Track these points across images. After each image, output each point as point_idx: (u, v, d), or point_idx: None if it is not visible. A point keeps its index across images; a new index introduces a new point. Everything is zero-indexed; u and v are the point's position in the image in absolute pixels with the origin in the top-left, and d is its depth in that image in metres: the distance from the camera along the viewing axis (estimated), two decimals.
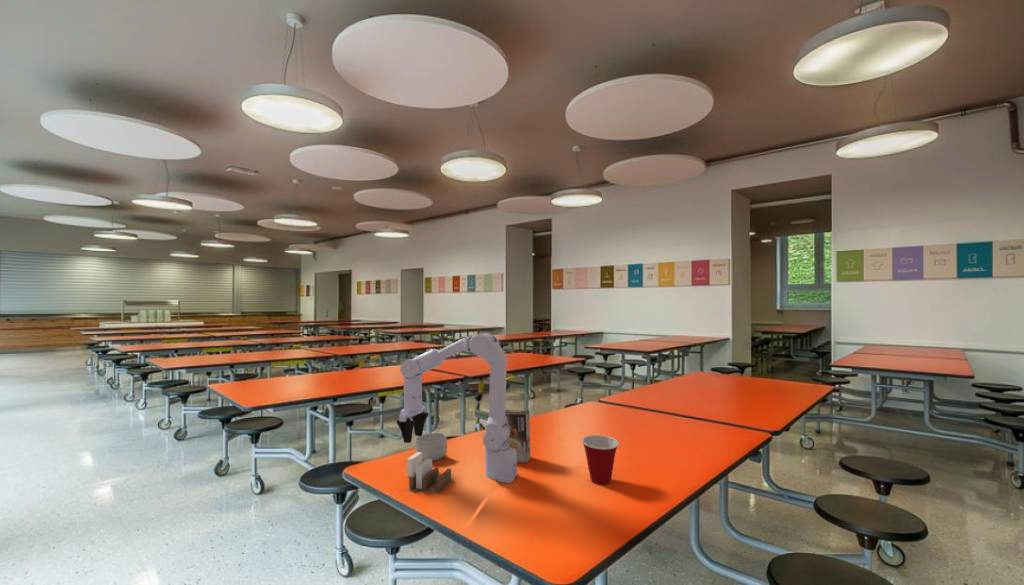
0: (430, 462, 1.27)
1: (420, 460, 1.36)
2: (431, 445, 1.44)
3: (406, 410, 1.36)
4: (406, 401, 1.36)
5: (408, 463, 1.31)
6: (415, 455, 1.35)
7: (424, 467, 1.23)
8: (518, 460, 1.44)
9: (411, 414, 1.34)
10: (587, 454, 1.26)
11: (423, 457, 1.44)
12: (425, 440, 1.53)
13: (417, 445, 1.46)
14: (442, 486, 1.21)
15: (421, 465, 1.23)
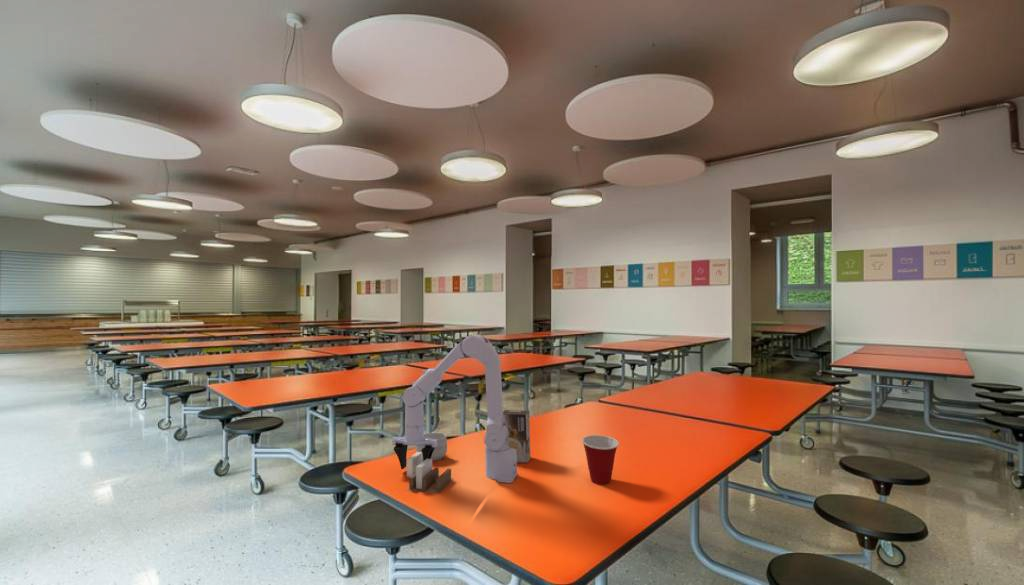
0: (430, 462, 1.27)
1: (420, 460, 1.36)
2: None
3: None
4: None
5: (408, 463, 1.31)
6: (415, 455, 1.35)
7: (424, 467, 1.23)
8: (518, 460, 1.44)
9: (399, 440, 1.34)
10: (587, 454, 1.26)
11: None
12: None
13: None
14: (442, 486, 1.21)
15: (421, 465, 1.23)
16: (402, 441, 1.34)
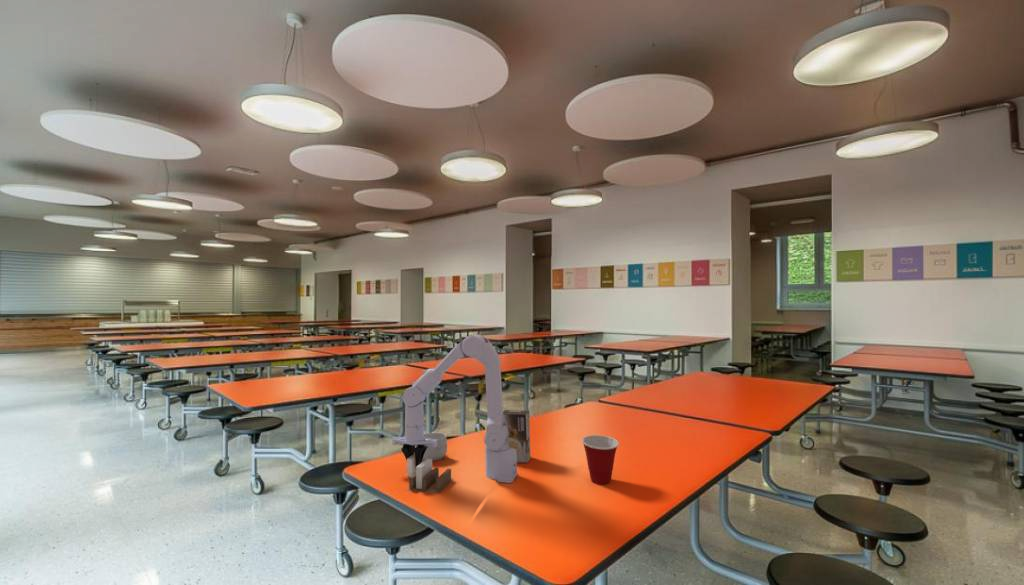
0: (430, 462, 1.27)
1: None
2: None
3: None
4: None
5: (408, 463, 1.31)
6: None
7: (424, 467, 1.23)
8: (518, 460, 1.44)
9: (399, 441, 1.34)
10: (587, 454, 1.26)
11: (423, 457, 1.44)
12: None
13: None
14: (442, 486, 1.21)
15: (421, 465, 1.23)
16: (402, 441, 1.34)
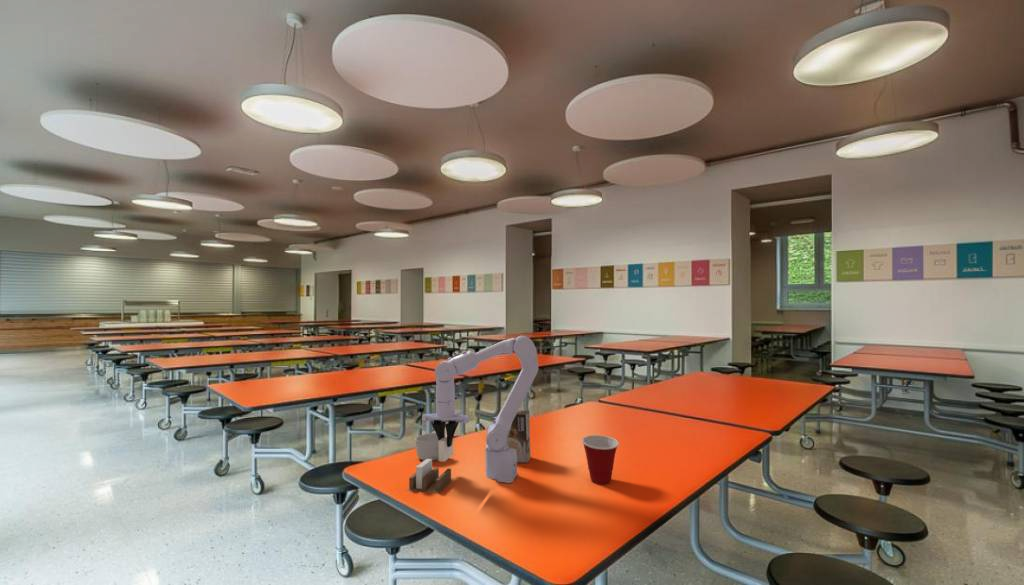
0: (430, 462, 1.27)
1: None
2: (431, 445, 1.44)
3: None
4: None
5: (440, 445, 1.28)
6: (446, 437, 1.31)
7: (424, 467, 1.23)
8: (518, 460, 1.44)
9: (430, 417, 1.31)
10: (587, 454, 1.26)
11: (423, 457, 1.44)
12: (425, 440, 1.53)
13: (417, 445, 1.46)
14: (442, 486, 1.21)
15: (421, 465, 1.23)
16: (433, 417, 1.30)
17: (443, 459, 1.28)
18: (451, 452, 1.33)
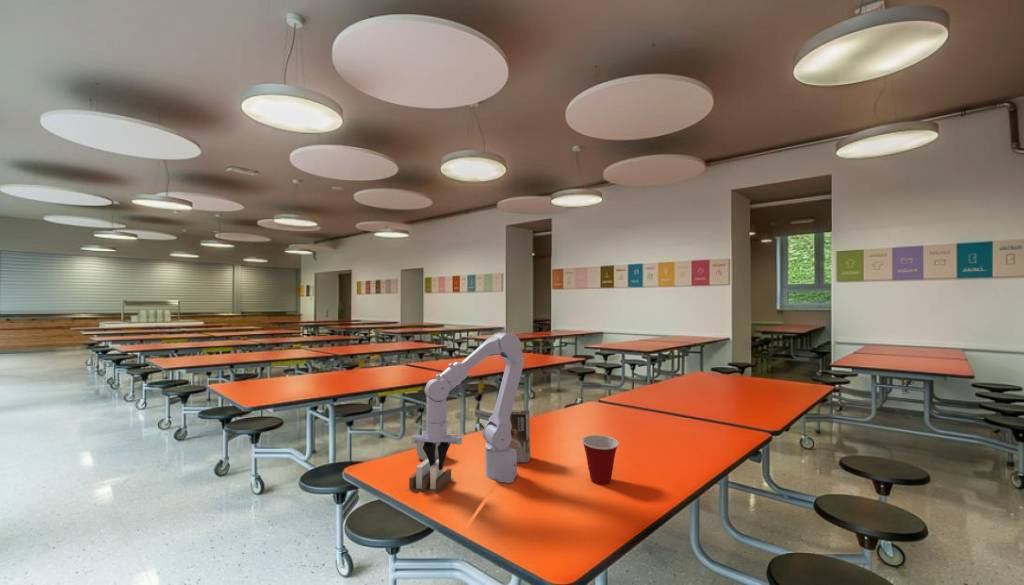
0: None
1: None
2: None
3: None
4: None
5: (432, 472, 1.21)
6: (437, 463, 1.25)
7: (424, 467, 1.23)
8: (518, 460, 1.44)
9: (420, 439, 1.24)
10: (587, 454, 1.26)
11: (423, 457, 1.44)
12: None
13: (417, 445, 1.46)
14: (442, 486, 1.21)
15: (421, 465, 1.23)
16: (424, 439, 1.23)
17: (435, 487, 1.21)
18: None
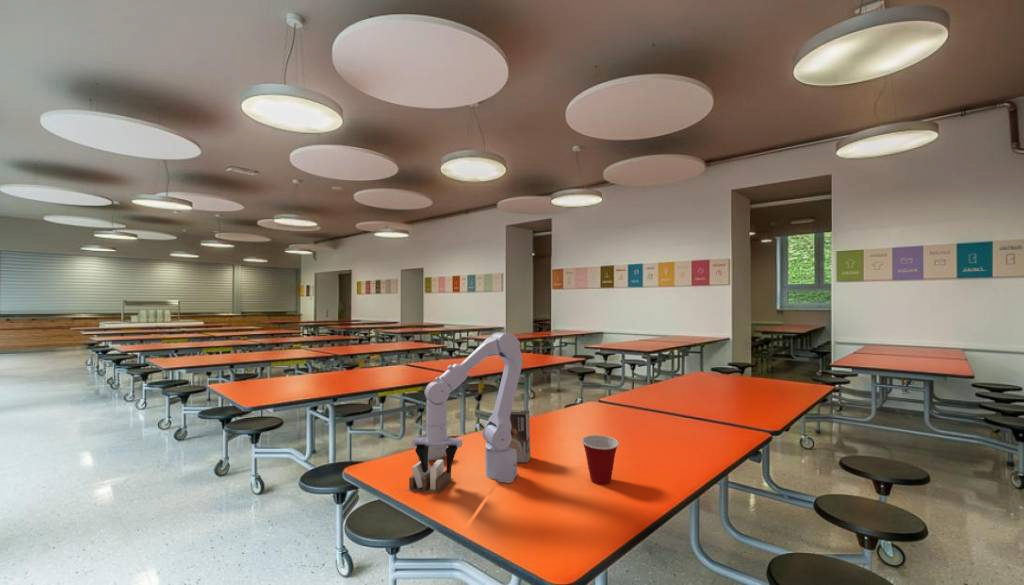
0: None
1: (442, 468, 1.26)
2: None
3: None
4: None
5: (432, 472, 1.21)
6: (437, 463, 1.25)
7: (420, 466, 1.24)
8: (518, 460, 1.44)
9: (420, 441, 1.24)
10: (587, 454, 1.26)
11: None
12: None
13: None
14: (442, 486, 1.21)
15: (416, 465, 1.23)
16: (424, 442, 1.23)
17: (435, 487, 1.21)
18: None
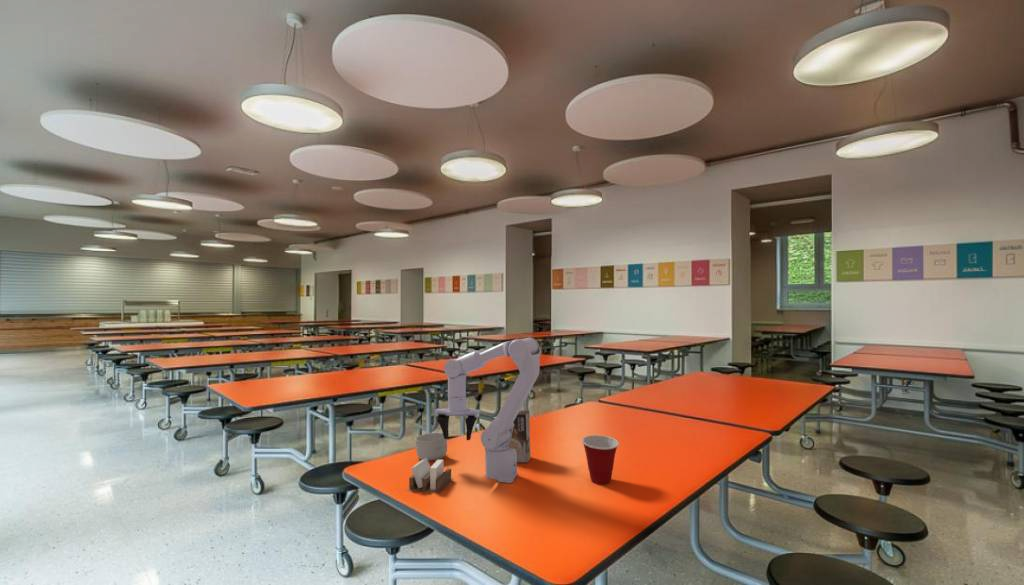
0: (425, 461, 1.28)
1: (442, 468, 1.26)
2: (431, 445, 1.44)
3: None
4: None
5: (432, 472, 1.21)
6: (437, 463, 1.25)
7: (419, 466, 1.24)
8: (518, 460, 1.44)
9: (442, 411, 1.38)
10: (587, 454, 1.26)
11: (423, 457, 1.44)
12: (425, 440, 1.53)
13: (417, 445, 1.46)
14: (442, 486, 1.21)
15: (416, 465, 1.23)
16: (445, 412, 1.37)
17: (435, 487, 1.21)
18: None
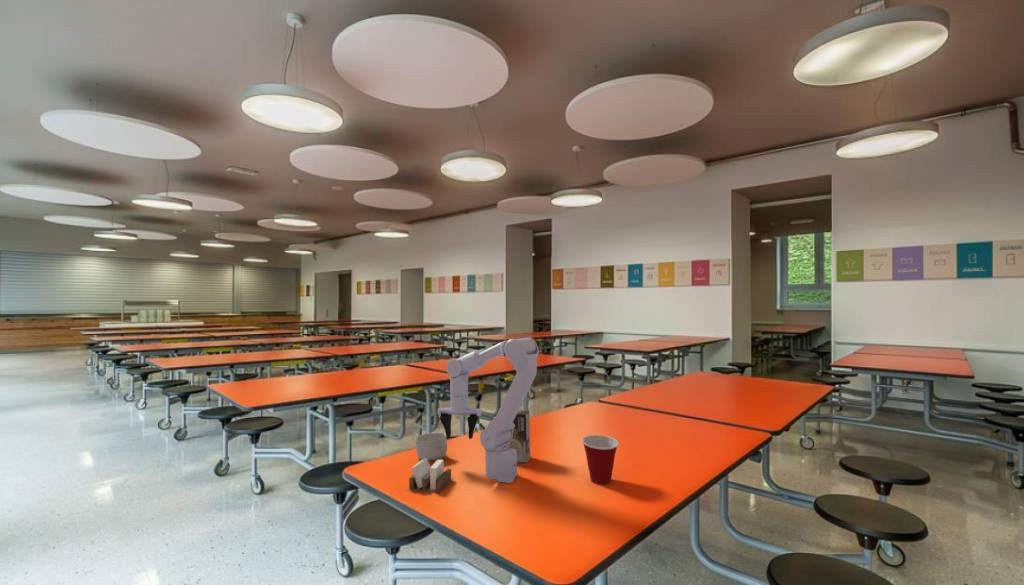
0: (425, 461, 1.28)
1: (442, 468, 1.26)
2: (431, 445, 1.44)
3: None
4: None
5: (432, 472, 1.21)
6: (437, 463, 1.25)
7: (419, 466, 1.24)
8: (518, 460, 1.44)
9: (445, 410, 1.40)
10: (587, 454, 1.26)
11: (423, 457, 1.44)
12: (425, 440, 1.53)
13: (417, 445, 1.46)
14: (442, 486, 1.21)
15: (416, 465, 1.23)
16: (448, 410, 1.39)
17: (435, 487, 1.21)
18: None
